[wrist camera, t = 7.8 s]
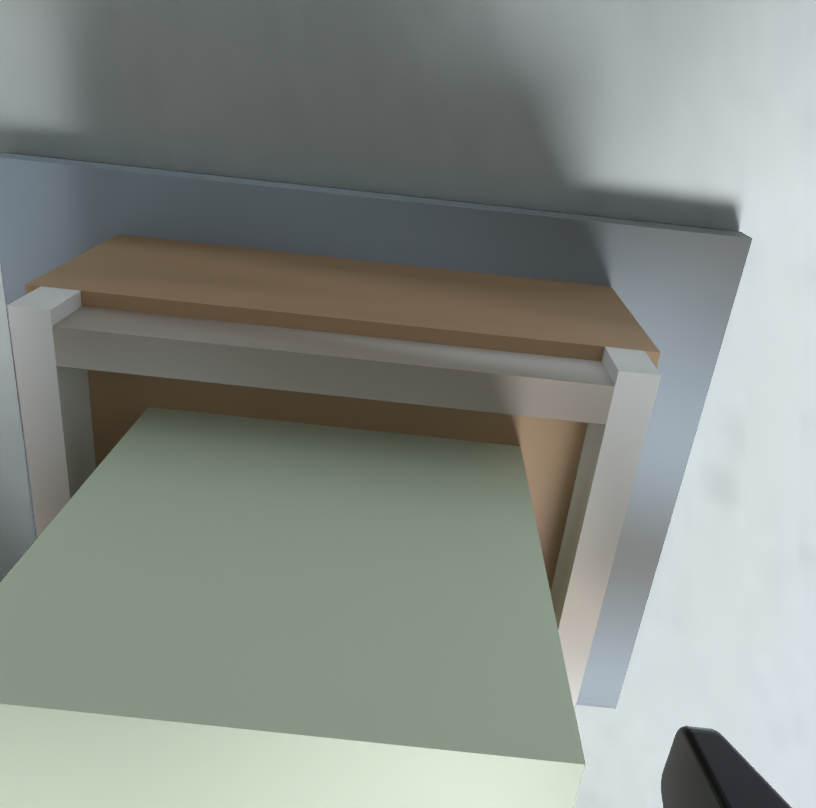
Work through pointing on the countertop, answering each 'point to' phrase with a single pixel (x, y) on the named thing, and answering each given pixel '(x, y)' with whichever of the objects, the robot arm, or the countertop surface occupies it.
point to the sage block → (287, 628)
